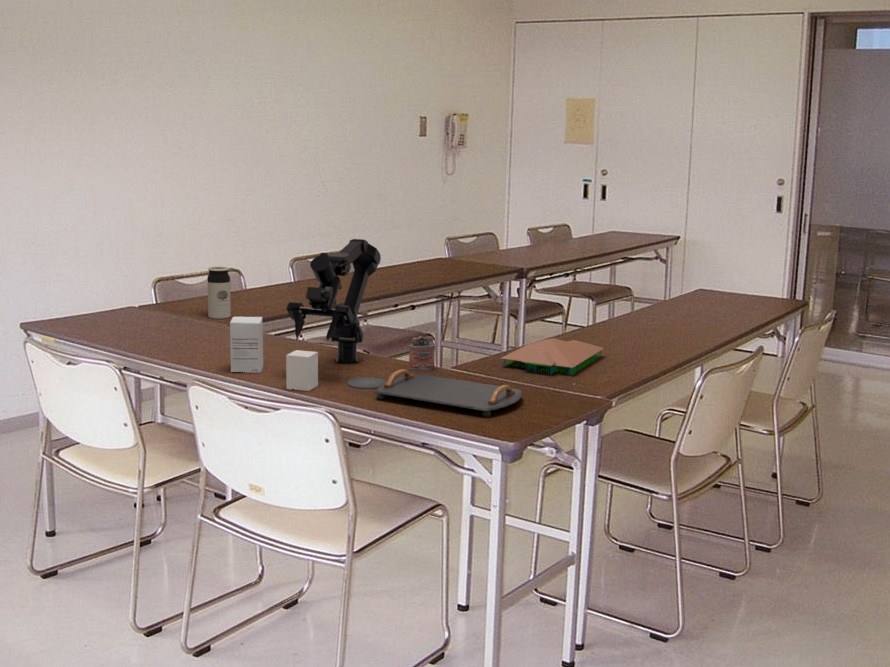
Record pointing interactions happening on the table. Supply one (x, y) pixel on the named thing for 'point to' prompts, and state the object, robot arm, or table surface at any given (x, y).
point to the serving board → (449, 391)
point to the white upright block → (302, 370)
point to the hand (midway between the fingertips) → (311, 337)
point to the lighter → (421, 354)
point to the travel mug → (219, 293)
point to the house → (555, 354)
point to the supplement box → (246, 344)
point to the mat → (365, 383)
